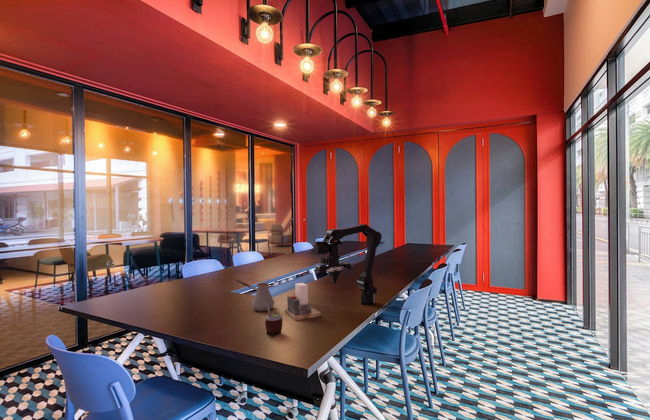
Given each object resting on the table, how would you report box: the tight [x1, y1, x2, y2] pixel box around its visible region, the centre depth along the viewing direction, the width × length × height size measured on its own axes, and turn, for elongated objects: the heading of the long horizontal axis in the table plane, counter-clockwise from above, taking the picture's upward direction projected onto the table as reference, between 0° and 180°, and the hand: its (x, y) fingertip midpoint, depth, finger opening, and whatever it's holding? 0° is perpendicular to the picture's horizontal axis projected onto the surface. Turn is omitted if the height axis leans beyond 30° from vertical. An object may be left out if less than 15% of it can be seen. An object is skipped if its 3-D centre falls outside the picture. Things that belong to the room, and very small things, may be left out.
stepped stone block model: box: [284, 295, 322, 321], centre depth 168 cm, size 14×14×10 cm
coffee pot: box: [234, 279, 275, 312], centre depth 179 cm, size 21×12×15 cm, turn 80°
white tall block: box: [294, 282, 309, 306], centre depth 168 cm, size 4×6×13 cm, turn 27°
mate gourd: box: [263, 301, 283, 337], centre depth 142 cm, size 8×8×15 cm
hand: (334, 283), depth 176 cm, fingers closed
